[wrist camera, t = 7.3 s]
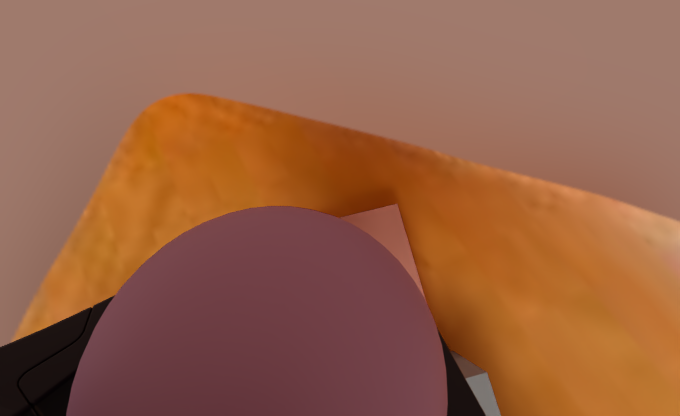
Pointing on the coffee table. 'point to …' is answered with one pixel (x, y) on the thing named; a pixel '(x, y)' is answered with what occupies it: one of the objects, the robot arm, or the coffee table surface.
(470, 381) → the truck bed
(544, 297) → the coffee table surface
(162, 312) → the yam
